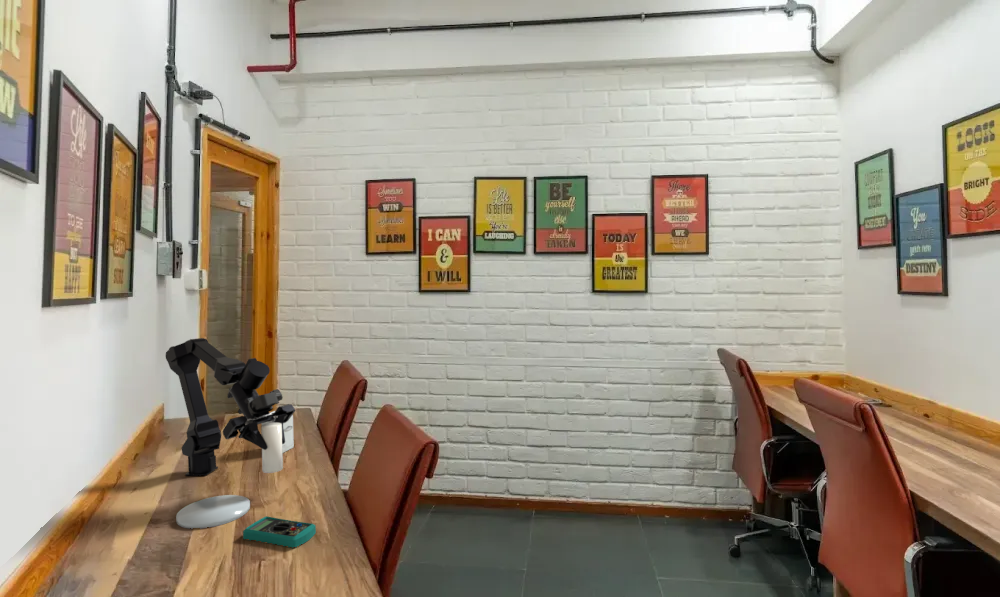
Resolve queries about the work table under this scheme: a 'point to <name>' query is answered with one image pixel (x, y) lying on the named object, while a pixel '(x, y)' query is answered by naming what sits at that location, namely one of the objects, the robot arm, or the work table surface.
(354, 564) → the work table surface
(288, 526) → the digital multimeter
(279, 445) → the white cylindrical post
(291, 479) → the work table surface
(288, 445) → the supplement box
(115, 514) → the work table surface
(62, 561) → the work table surface
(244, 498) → the plate
